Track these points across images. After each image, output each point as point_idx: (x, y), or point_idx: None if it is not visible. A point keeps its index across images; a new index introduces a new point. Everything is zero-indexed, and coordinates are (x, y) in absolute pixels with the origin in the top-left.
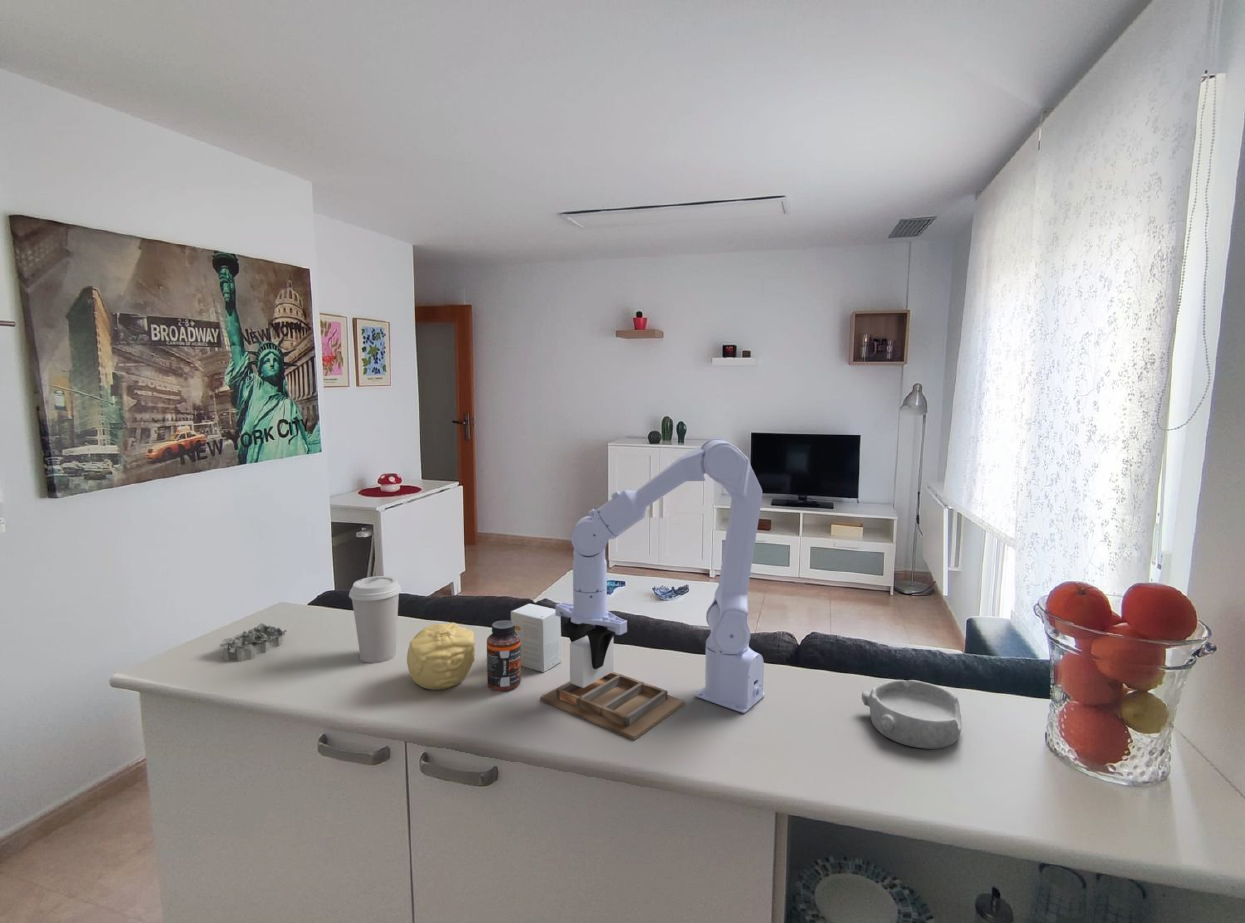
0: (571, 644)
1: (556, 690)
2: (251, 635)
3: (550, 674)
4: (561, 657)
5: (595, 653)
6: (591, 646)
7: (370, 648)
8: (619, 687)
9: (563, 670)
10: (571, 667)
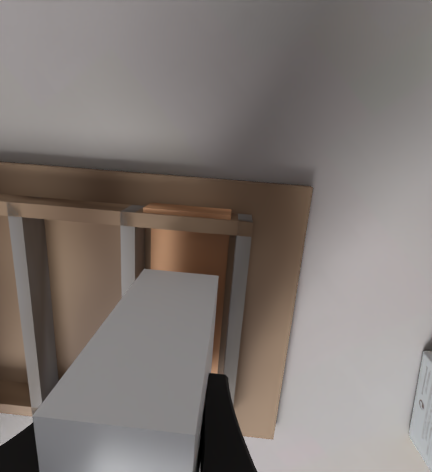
0: (178, 427)
1: (252, 221)
2: None
3: (392, 352)
4: (417, 449)
5: (32, 425)
6: (28, 467)
7: None
8: None
9: (367, 393)
10: (201, 311)
